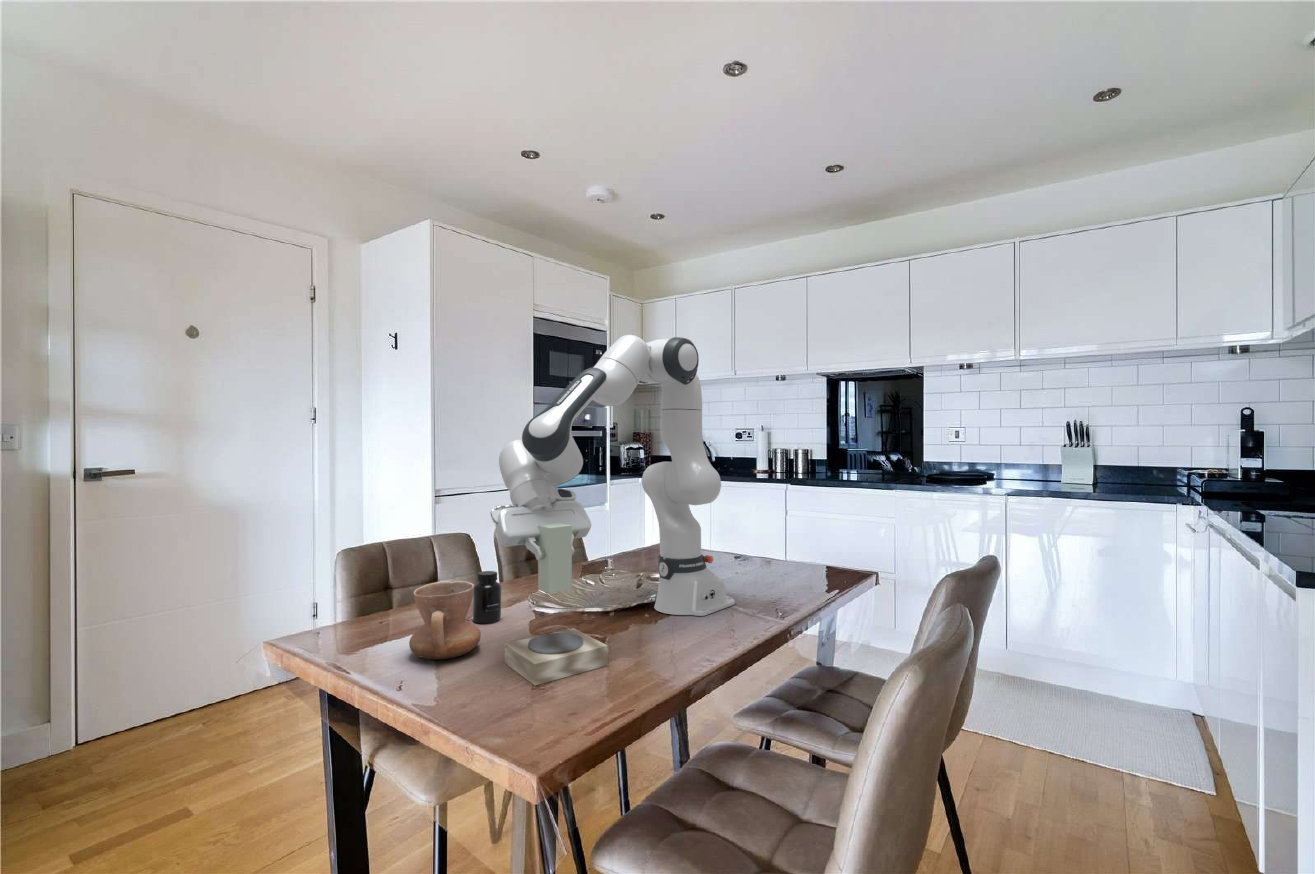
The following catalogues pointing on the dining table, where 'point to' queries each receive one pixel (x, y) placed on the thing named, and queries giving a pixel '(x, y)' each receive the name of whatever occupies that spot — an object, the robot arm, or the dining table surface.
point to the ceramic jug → (444, 620)
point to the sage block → (555, 558)
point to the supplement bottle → (487, 598)
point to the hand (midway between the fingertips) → (556, 555)
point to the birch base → (555, 655)
